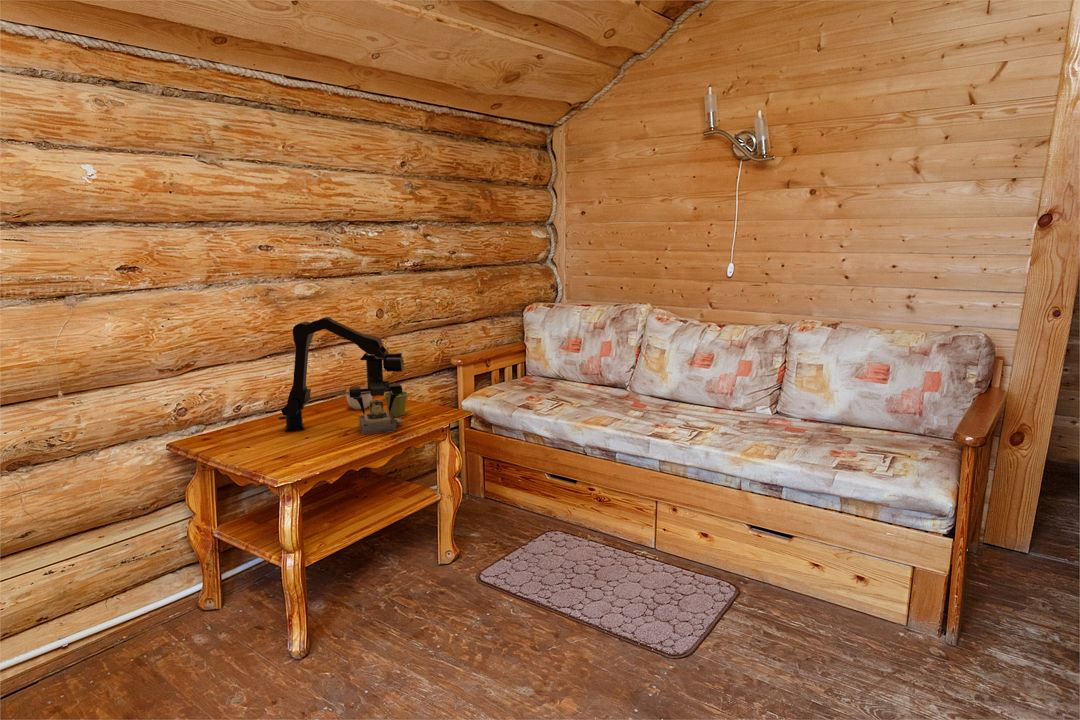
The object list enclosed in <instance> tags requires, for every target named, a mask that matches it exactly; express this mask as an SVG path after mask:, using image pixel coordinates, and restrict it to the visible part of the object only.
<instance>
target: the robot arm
mask: <svg viewBox="0 0 1080 720" xmlns="http://www.w3.org/2000/svg"><path fill="white" fill-rule="evenodd" d="M323 330H326V331H328V332H330V333H332V334H335V335H336V336H338V337H340V338H343V339H345V340H347V341H349V342H351V343H353V344H355V345H356V346H357V347H358V348H359V349H360V350H361V351H363V352H365V353H363V355H362V357H361V358H359V360H360V361H365V365H366V383H367V384H366V385H367V386H366V387H368V388H365V389H360V387H361V385H360V386H358V385H357V386H350V387H349V396H350V397H351V398H354V399H357V401H358V402H359V404H360V406H361V409H360V410H361V411H362V412H361V413H362V415H364V414H366V413H365V409H364V405H363V400H362V396H361V394H366V393H370V394H371V396H372V397H376V396H381V397H382V396H384V393H387V392H389V406H387V409H388V408H389V411H388V413H389V412H390V411H391V407H392V404H393V401H394V399H395V397H396V396H399V394H402V391H403V387H402V385H401V384H400V383H399V382H398V383H390V381H389V380H384V372H383V371H386V372H387V373H388V372H389V373H390V372H393V373H394V372H395V373H397V372H401V373H402V372H403V371H404V365H405V364H404V363H405V361H404V358H403V353H402V352H397V353H390V352H389V351H388V349H387V348H385V346H384V344H383V341H382V339H381V338H380V337H379V336H375V335H372V334H367V333H364V332H363V333H362V332H359V331H357V330H355V329H353V328H351V327H349V326H348V325H344V324H343V323H341V322H338V321H337V320H334V319H332V318H331V317H330V316H325V317H322V318H320V319H318V320H317V319H316V320H314V321H311V322H310V321H307V320H305V321H301V322H299V323H297V324H295V325H294V326H293V327H292V338H293V342H294V345H295V352H294V369H293V382H292V387H291V389H290V392H289V395H288V397H287V401H286V403H287V404H285V406H284V407H282V408H281V409H280V410H281V413H282V415H283V416H285V426H284V427H285V429H284V431H285V432H291V431H293V432H294V431H302V430H305V423H303V411H302V410H304V408H305V406H306V405H307V404H308V403H309V401H310V400H311V391H312V389H311V388H308V387H307V373H308V361H309V352H310V351H309V350H310V349H309V348H310V344H311V342H312V340H313V336H314V333H316V332H317V333H318V332H319V331H323Z"/></svg>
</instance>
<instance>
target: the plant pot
mask: <svg viewBox="0 0 1080 720" xmlns="http://www.w3.org/2000/svg"><path fill="white" fill-rule="evenodd" d="M408 395H409V392H408V391H405V390H402V394H399V396H396V397H395V399H394V401H393V404H392V407H391V411H390V412H389V408H388V406H389V392H384V395H383V396H384V398H385V400H386V405H387V410H388V411H387V412H388V413H392V416H393V417H401V416H404V415H405V414H406V406H407V405H406V403H407V398H408Z"/></svg>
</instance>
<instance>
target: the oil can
mask: <svg viewBox="0 0 1080 720" xmlns="http://www.w3.org/2000/svg"><path fill="white" fill-rule="evenodd" d="M368 407H369V413H370V419H376V418H384V412H385V411H384V400H382V399H378V398H377V399H372V400H371V401H369V406H368Z"/></svg>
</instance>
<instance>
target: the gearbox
mask: <svg viewBox="0 0 1080 720" xmlns="http://www.w3.org/2000/svg"><path fill="white" fill-rule="evenodd" d="M358 421H359V423H358V424H359V426H360V430H361V434H362V436H363V435H370V434H371V435H372V434H379V433H380V434H382V433H393V432H397V425H402V424H403V418H395V417H394V416H392V413H389V411H384V418H376V419H370V412H368V413H365V414H362V415H360V416H358Z"/></svg>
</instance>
